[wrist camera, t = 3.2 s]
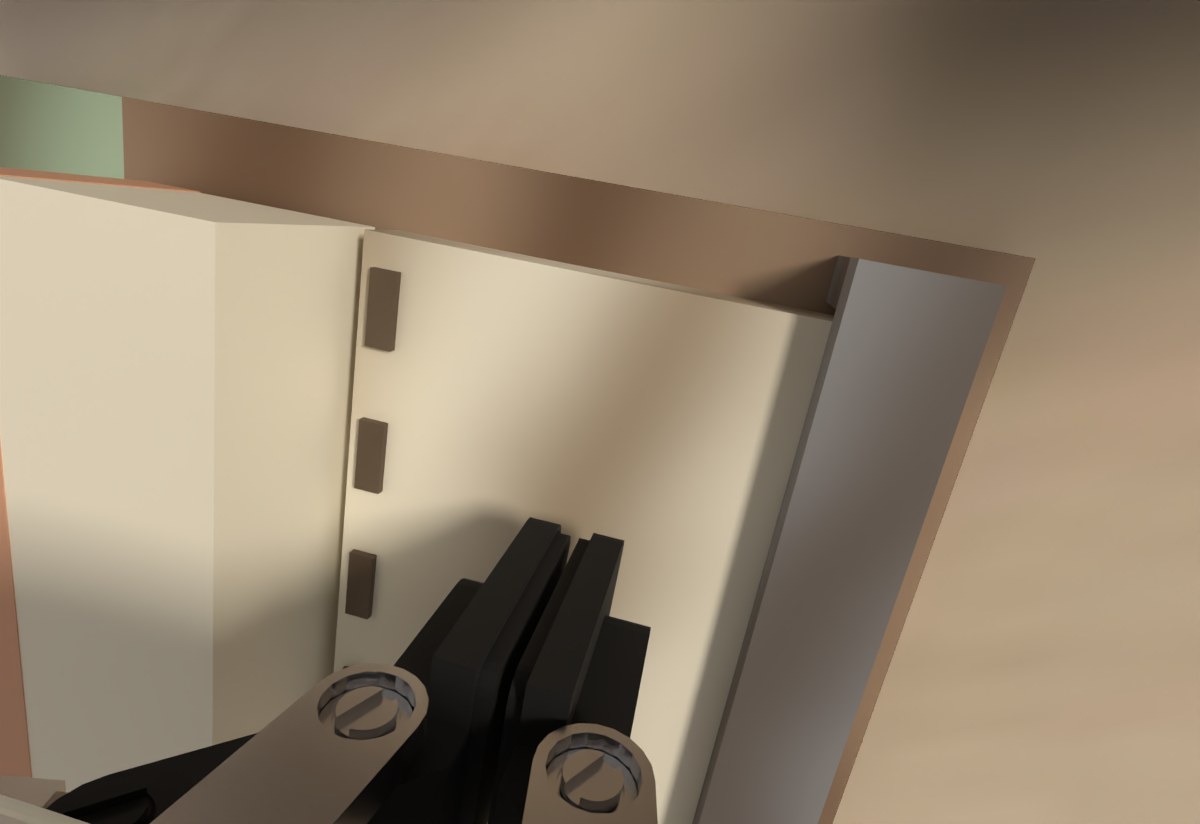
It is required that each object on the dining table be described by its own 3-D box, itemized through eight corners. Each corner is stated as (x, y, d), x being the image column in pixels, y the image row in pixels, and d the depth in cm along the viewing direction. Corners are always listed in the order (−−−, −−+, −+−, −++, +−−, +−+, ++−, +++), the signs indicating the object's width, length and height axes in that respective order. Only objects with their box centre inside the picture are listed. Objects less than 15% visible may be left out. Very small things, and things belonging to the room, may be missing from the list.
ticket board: (1010, 256, 12) (1097, 262, 9) (802, 853, 16) (817, 986, 13) (-181, 45, 15) (-385, 2, 12) (-101, 576, 19) (-241, 634, 16)
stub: (376, 225, 12) (214, 220, 8) (340, 706, 15) (211, 861, 12) (142, 180, 13) (-105, 156, 9) (153, 649, 16) (-26, 779, 12)
